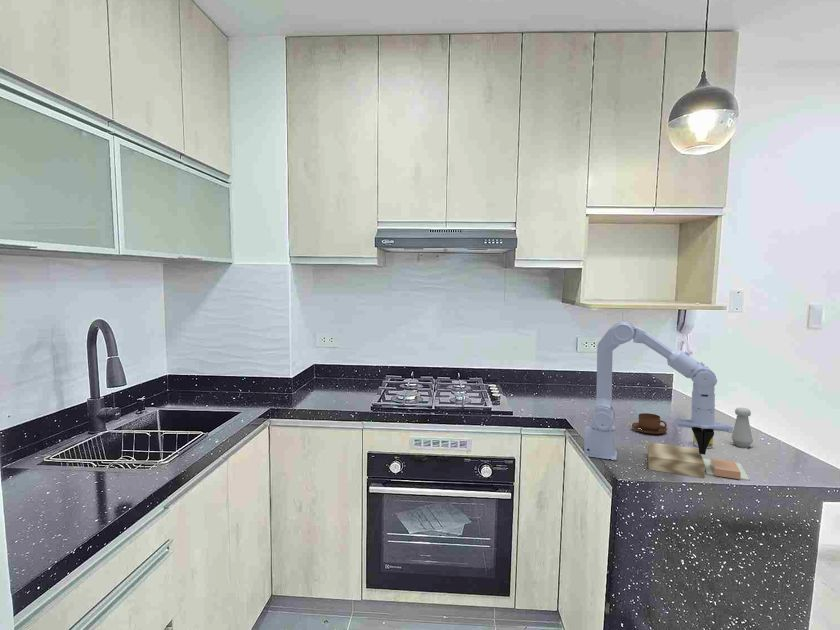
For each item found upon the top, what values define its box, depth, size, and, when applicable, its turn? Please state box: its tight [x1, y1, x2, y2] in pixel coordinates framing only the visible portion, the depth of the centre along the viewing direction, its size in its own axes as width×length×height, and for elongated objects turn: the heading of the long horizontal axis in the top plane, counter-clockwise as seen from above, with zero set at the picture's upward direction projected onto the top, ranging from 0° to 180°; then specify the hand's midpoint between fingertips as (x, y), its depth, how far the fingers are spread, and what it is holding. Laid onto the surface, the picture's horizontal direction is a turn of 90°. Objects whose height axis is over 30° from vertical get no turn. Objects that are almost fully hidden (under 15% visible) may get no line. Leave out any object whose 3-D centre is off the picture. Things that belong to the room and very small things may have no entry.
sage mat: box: [703, 458, 750, 481], centre depth 130 cm, size 10×13×1 cm
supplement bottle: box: [692, 434, 714, 449], centre depth 150 cm, size 6×6×10 cm
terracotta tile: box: [710, 457, 742, 480], centre depth 127 cm, size 6×9×2 cm, turn 153°
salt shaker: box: [731, 407, 754, 449], centre depth 150 cm, size 6×6×13 cm
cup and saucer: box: [631, 412, 668, 435], centre depth 167 cm, size 12×12×6 cm
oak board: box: [647, 441, 706, 479], centre depth 133 cm, size 14×14×4 cm
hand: (702, 453), depth 130 cm, fingers closed
